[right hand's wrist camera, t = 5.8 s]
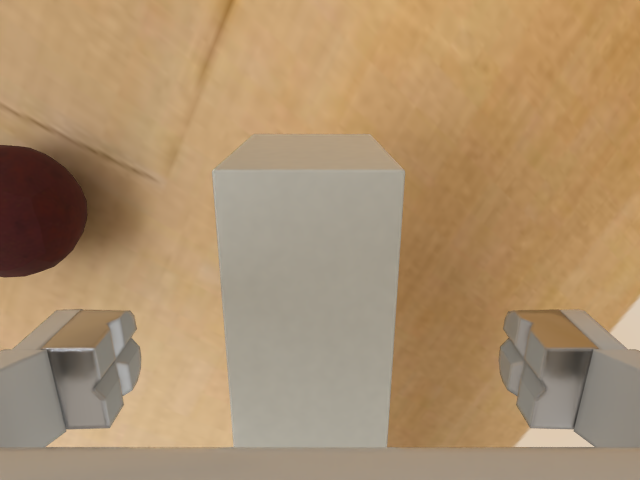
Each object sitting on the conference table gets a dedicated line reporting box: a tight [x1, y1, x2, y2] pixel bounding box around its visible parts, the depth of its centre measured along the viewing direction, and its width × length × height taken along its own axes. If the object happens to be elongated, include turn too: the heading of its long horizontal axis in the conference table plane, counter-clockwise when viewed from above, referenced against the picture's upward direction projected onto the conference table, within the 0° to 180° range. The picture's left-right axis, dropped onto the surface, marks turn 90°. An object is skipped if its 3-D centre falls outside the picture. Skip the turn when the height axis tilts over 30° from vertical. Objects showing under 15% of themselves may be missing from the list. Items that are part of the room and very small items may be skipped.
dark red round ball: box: [0, 145, 87, 277], centre depth 26 cm, size 7×8×7 cm
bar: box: [212, 134, 405, 447], centre depth 20 cm, size 28×5×8 cm, turn 0°
